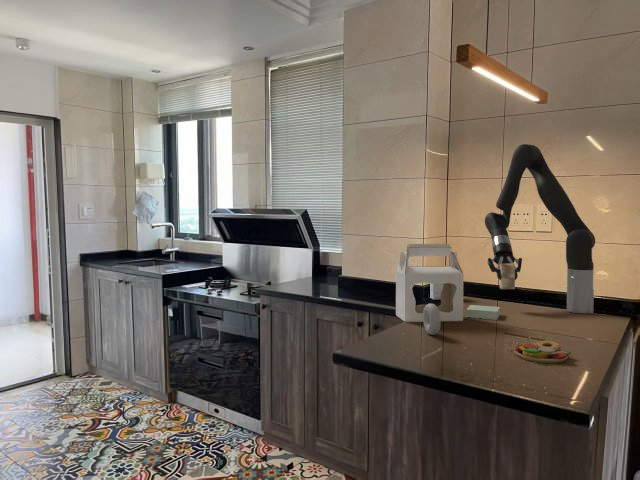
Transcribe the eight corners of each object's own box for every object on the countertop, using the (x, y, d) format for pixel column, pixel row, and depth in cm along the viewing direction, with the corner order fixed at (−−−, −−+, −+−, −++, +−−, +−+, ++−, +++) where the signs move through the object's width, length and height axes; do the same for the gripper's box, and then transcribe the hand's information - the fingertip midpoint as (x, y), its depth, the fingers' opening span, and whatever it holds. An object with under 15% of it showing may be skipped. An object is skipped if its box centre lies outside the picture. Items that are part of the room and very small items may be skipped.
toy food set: (553, 351, 133) (553, 339, 133) (581, 365, 119) (581, 352, 119) (506, 351, 132) (506, 340, 132) (528, 365, 119) (528, 352, 119)
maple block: (512, 287, 197) (512, 263, 196) (514, 289, 192) (514, 264, 192) (499, 287, 198) (499, 263, 197) (501, 289, 193) (501, 264, 192)
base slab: (499, 315, 185) (499, 306, 185) (496, 321, 175) (496, 311, 175) (470, 313, 190) (470, 304, 190) (466, 318, 180) (466, 309, 180)
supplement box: (452, 299, 223) (452, 268, 222) (432, 299, 223) (433, 268, 222) (447, 297, 232) (447, 266, 231) (428, 297, 232) (429, 266, 231)
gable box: (404, 322, 171) (404, 244, 170) (395, 315, 184) (395, 243, 183) (463, 321, 173) (464, 244, 172) (450, 314, 186) (451, 243, 185)
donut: (421, 331, 156) (421, 301, 156) (431, 331, 156) (431, 300, 156) (431, 338, 146) (431, 306, 146) (442, 338, 147) (442, 306, 146)
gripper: (485, 242, 203) (490, 272, 191) (521, 241, 200) (528, 272, 189) (483, 253, 208) (488, 284, 197) (518, 253, 206) (525, 284, 194)
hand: (507, 278), depth 193 cm, fingers closed on maple block, 5 cm apart
